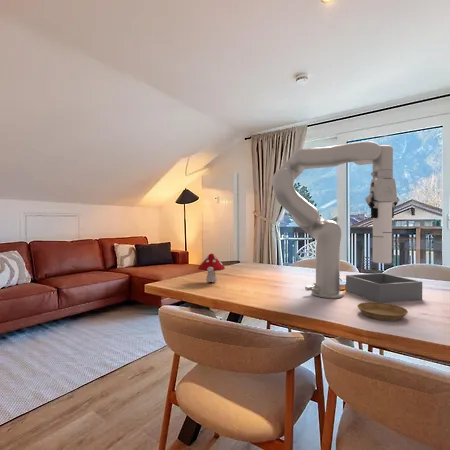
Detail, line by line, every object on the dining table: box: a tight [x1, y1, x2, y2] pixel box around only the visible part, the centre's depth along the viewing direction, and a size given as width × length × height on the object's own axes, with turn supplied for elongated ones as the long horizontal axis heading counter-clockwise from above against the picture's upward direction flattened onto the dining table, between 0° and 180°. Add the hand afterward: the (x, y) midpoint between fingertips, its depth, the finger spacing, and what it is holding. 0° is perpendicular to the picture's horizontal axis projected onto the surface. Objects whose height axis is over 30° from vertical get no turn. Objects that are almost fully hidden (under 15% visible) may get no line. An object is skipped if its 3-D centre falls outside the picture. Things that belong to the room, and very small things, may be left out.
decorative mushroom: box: [197, 253, 226, 283], centre depth 148 cm, size 14×14×15 cm
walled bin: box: [345, 272, 423, 303], centre depth 123 cm, size 20×20×7 cm
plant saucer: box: [356, 301, 409, 322], centre depth 97 cm, size 15×15×3 cm
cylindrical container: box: [372, 202, 393, 264], centre depth 123 cm, size 7×7×25 cm
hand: (382, 217), depth 123 cm, fingers closed on cylindrical container, 7 cm apart
